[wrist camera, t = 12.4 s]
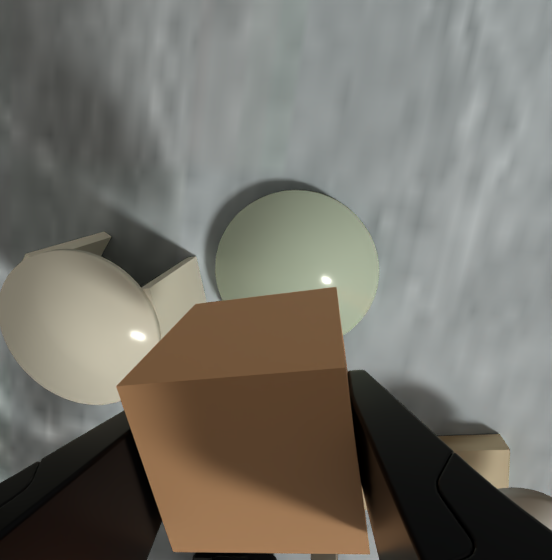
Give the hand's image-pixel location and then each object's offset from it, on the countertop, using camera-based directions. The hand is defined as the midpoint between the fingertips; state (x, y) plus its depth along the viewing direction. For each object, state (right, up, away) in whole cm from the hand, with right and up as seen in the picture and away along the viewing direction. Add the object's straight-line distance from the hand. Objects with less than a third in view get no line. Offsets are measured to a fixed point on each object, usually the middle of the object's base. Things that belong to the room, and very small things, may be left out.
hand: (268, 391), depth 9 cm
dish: (+1, +3, +10) cm, 11 cm away
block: (0, +1, +1) cm, 2 cm away
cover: (-8, +2, +12) cm, 14 cm away
